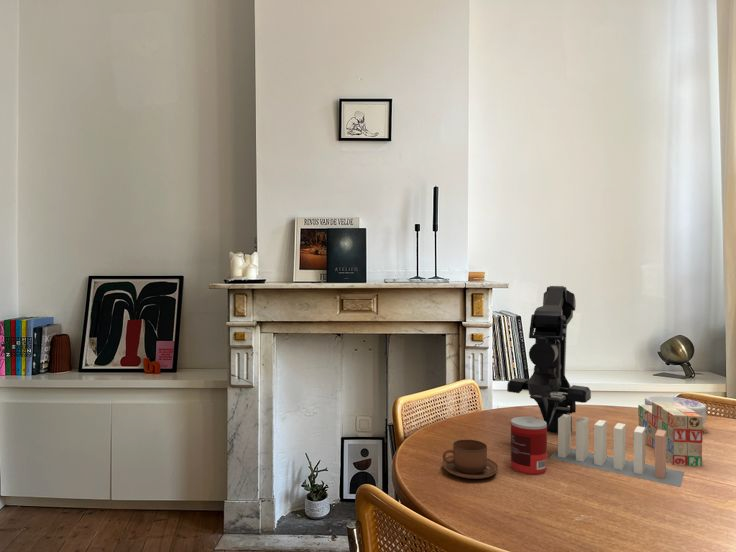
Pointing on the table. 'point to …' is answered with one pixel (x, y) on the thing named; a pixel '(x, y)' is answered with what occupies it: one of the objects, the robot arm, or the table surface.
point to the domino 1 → (564, 435)
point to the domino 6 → (660, 454)
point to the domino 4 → (619, 445)
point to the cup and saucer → (469, 460)
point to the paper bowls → (690, 404)
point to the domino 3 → (600, 442)
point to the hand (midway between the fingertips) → (547, 424)
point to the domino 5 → (639, 450)
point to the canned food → (529, 445)
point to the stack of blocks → (674, 431)
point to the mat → (625, 468)
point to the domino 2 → (581, 439)
